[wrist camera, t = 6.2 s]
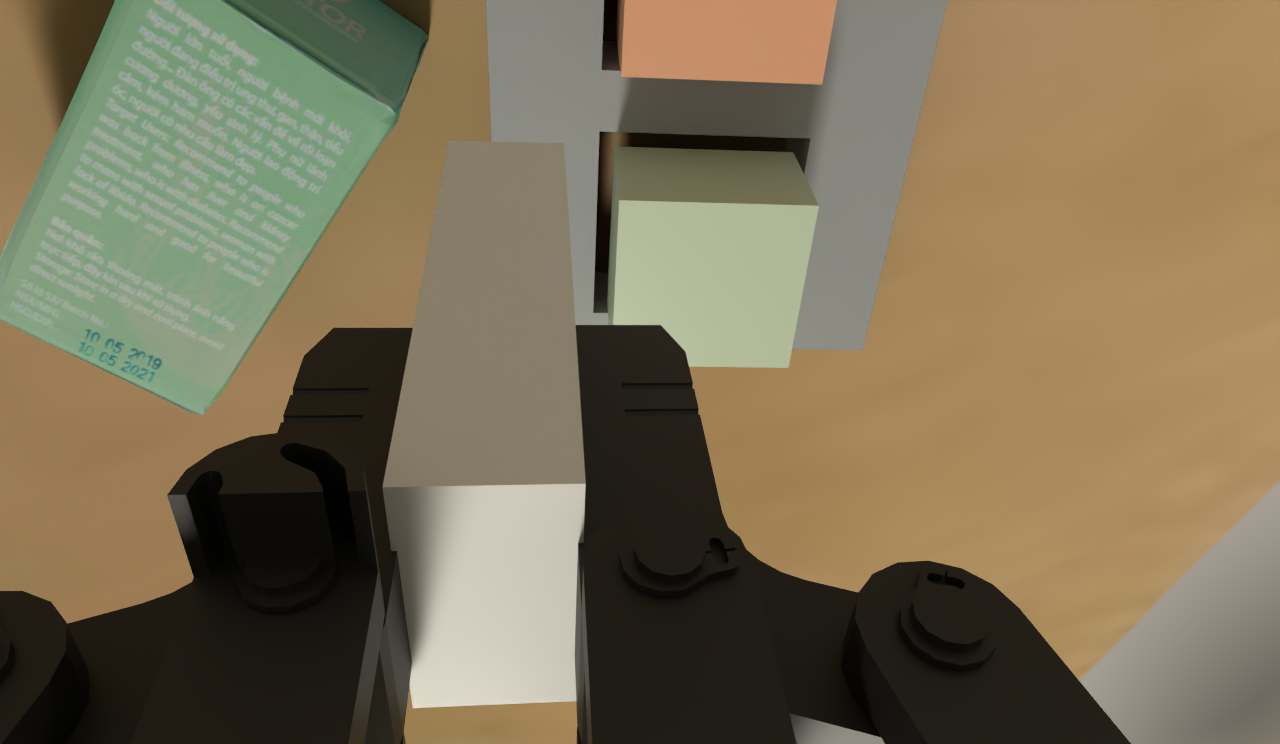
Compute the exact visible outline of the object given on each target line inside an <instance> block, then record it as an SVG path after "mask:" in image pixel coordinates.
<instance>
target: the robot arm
mask: <svg viewBox="0 0 1280 744" xmlns="http://www.w3.org/2000/svg"><path fill="white" fill-rule="evenodd" d="M692 384H693V382H692V378H691V374H690V369H689V365H688V360H687V356H686V352H685V351H684V350H683V348H682V347H681V346H680V345H679V344H678V343H677V342H676V341H675V340H674V339H673V338H672V337H671V335H670V334H669V333H668V332H667V331H666V330H665V329H664V328H663V327H662V326H661V325H575V309H574V294H573V278H572V262H571V247H570V231H569V215H568V200H567V184H566V168H565V153H564V143H533V142H488V141H449V142H448V147H447V152H446V157H445V163H444V168H443V173H442V178H441V184H440V189H439V194H438V199H437V205H436V210H435V215H434V220H433V225H432V231H431V236H430V241H429V246H428V252H427V257H426V262H425V267H424V273H423V278H422V283H421V288H420V293H419V299H418V304H417V309H416V314H415V320H414V325H413V328H333V329H332V330H331V331H330V332H329V333H328V334H327V335H326V336H325V337H324V338H323V339H322V340H320V341H319V342H318V343H317V344H316V345H315V346H314V347H313V348H312V349H311V350H310V351H309V352H308V353H307V354H306V355H305V356H304V358H303V361H302V363H301V366H300V369H299V372H298V375H297V378H296V381H295V384H294V387H293V395H290V398H289V401H288V404H287V407H286V410H285V413H284V415H283V416H284V422H283V423H281V424H280V427H279V430H278V433H275V434H267V435H260V436H252V437H249V438H246V439H243V440H241V441H238V442H235V443H232V444H230V445H227V446H224V447H222V448H219V449H216V450H214V451H213V452H212V453H210V454H209V455H207V456H206V457H204V458H203V459H201V460H200V461H198V462H197V463H196V464H194V465H193V466H191V467H190V468H188V469H187V470H186V471H185V472H184V473H183V475H182V476H181V477H180V479H179V480H178V481H177V483H176V484H175V485H174V487H173V488H172V489H171V491H170V492H169V493H168V495H167V496H168V499H169V502H170V505H171V508H172V511H173V514H174V517H175V520H176V523H177V526H178V529H179V533H180V536H181V539H182V542H183V545H184V548H185V551H186V554H187V557H188V560H189V563H190V566H191V570H192V573H193V576H194V578H193V581H192V582H191V583H190V584H188V585H186V586H184V587H182V588H180V589H178V590H176V591H175V592H173V593H170V594H168V595H165V596H162V597H159V598H156V599H154V600H151V601H148V602H145V603H142V604H139V605H135V606H131V607H127V608H124V609H120V610H116V611H113V612H109V613H105V614H102V615H98V616H94V617H91V618H87V619H83V620H79V621H76V622H72V623H68V624H67V623H66V621H65V620H64V619H63V617H62V616H61V615H60V613H59V612H58V611H57V609H56V608H55V607H54V605H53V604H52V603H51V602H50V601H47V600H45V599H42V598H39V597H37V596H34V595H31V594H29V593H26V592H24V591H0V744H406V743H405V736H404V723H405V715H406V707H407V700H408V692H409V684H410V691H411V698H412V705H413V708H425V707H448V706H471V705H495V704H518V703H541V702H565V701H576V702H577V744H1131V743H1130V742H1129V741H1128V740H1127V738H1126V737H1125V736H1124V735H1123V734H1122V732H1121V731H1120V730H1119V729H1118V728H1117V726H1116V725H1115V724H1114V723H1113V722H1112V720H1111V719H1110V718H1109V717H1108V715H1107V714H1106V713H1105V712H1104V711H1103V709H1102V708H1101V707H1100V706H1099V705H1098V703H1097V702H1096V701H1095V700H1094V699H1093V697H1091V695H1090V694H1089V692H1088V691H1087V690H1086V689H1085V688H1084V686H1083V685H1082V684H1081V683H1080V681H1079V680H1078V679H1077V678H1076V677H1075V675H1074V674H1073V673H1072V672H1071V671H1070V669H1069V668H1068V667H1067V666H1066V665H1065V663H1064V662H1063V661H1062V660H1061V658H1060V657H1059V656H1058V655H1057V654H1056V652H1055V651H1054V650H1053V649H1052V648H1051V646H1050V645H1049V644H1048V643H1047V641H1046V640H1045V639H1044V638H1043V637H1042V635H1041V634H1040V633H1039V632H1038V631H1037V629H1036V628H1035V627H1034V626H1033V624H1032V623H1031V622H1030V621H1029V620H1028V618H1027V617H1026V616H1025V615H1024V614H1023V612H1022V611H1021V610H1020V609H1019V608H1018V607H1017V606H1016V605H1015V604H1014V603H1013V602H1012V601H1011V600H1009V599H1008V598H1007V597H1006V596H1005V595H1004V594H1003V593H1002V592H1001V591H1000V590H998V589H997V588H996V587H995V586H994V585H993V584H991V583H989V582H987V581H985V580H983V579H981V578H979V577H977V576H975V575H973V574H971V573H969V572H967V571H966V570H964V569H962V568H957V567H953V566H949V565H944V564H940V563H936V562H931V561H917V562H900V563H896V564H894V565H891V566H889V567H887V568H885V569H883V570H880V571H878V572H876V573H874V574H872V576H871V577H870V578H869V580H868V581H867V582H866V584H865V585H864V586H863V588H862V589H861V590H860V592H859V593H857V592H853V591H849V590H845V589H840V588H836V587H832V586H828V585H824V584H819V583H815V582H811V581H807V580H803V579H800V578H797V577H794V576H791V575H788V574H785V573H782V572H780V571H778V570H776V569H774V568H772V567H771V566H769V565H767V564H765V563H763V562H761V561H760V560H758V559H757V558H756V557H755V556H753V555H752V554H751V553H750V552H749V551H747V550H746V548H745V546H744V544H743V542H742V540H741V538H740V537H739V536H738V535H737V534H735V533H734V532H733V531H732V530H731V529H730V528H728V526H727V523H726V521H725V518H724V516H723V513H722V510H721V506H720V501H719V497H718V492H717V488H716V484H715V479H714V475H713V470H712V466H711V462H710V457H709V453H708V448H707V444H706V440H705V435H704V431H703V426H702V422H701V418H700V415H698V404H697V400H696V396H695V391H694V389H693V388H692Z"/></svg>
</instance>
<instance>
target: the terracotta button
mask: <svg viewBox="0 0 1280 744" xmlns="http://www.w3.org/2000/svg"><path fill="white" fill-rule="evenodd" d="M836 4H837V0H617V21H616V41H617V49H618V56H619V64H620V72H621V77H638V78H664V79H690V80H716V81H742V82H768V83H794V84H820V85H822V83H823V78H824V72H825V66H826V60H827V55H828V49H829V43H830V38H831V32H832V26H833V21H834V15H835V9H836Z"/></svg>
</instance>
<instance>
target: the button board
mask: <svg viewBox="0 0 1280 744" xmlns="http://www.w3.org/2000/svg"><path fill="white" fill-rule="evenodd" d="M946 4H947V0H837V4H836V9H835V15H834V21H833V26H832V32H831V38H830V43H829V49H828V55H827V60H826V66H825V72H824V78H823V83H822V85H820V84H794V83H768V82H742V81H716V80H690V79H664V78H638V77H621V72H620V64H619V56H618V49H617V42H612V41H603V16H604V0H486V8H487V35H488V62H489V89H490V116H491V142H533V143H564V153H565V168H566V184H567V200H568V215H569V231H570V247H571V262H572V278H573V294H574V309H575V325H609V323H608V306H607V296H608V274H609V272H595V247H596V218H597V189H598V160H599V132H600V131H601V132H631V133H661V134H691V135H720V136H750V137H780V138H788V141H787V148H786V152H793V153H794V155H795V157H796V159H797V161H798V163H799V165H800V167H801V169H802V171H803V173H804V176H805V178H806V180H807V182H808V184H809V186H810V188H811V190H812V192H813V194H814V196H815V198H816V201H817V203H818V205H819V208H818V214H817V219H816V224H815V230H814V235H813V240H812V246H811V251H810V256H809V261H808V267H807V272H806V277H805V283H804V288H803V293H802V299H801V304H800V309H799V314H798V320H797V325H796V330H795V336H794V341H793V346H792V349H812V350H863V346H864V342H865V338H866V334H867V330H868V325H869V321H870V317H871V313H872V309H873V305H874V301H875V297H876V292H877V288H878V284H879V280H880V276H881V272H882V268H883V264H884V260H885V255H886V251H887V247H888V243H889V239H890V235H891V231H892V227H893V223H894V218H895V214H896V210H897V206H898V202H899V198H900V194H901V190H902V186H903V181H904V177H905V173H906V169H907V165H908V161H909V157H910V153H911V148H912V144H913V140H914V136H915V132H916V128H917V124H918V120H919V116H920V111H921V107H922V103H923V99H924V95H925V91H926V87H927V83H928V79H929V74H930V70H931V66H932V62H933V58H934V54H935V50H936V46H937V41H938V37H939V33H940V29H941V25H942V21H943V17H944V13H945V9H946Z"/></svg>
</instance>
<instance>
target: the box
mask: <svg viewBox="0 0 1280 744" xmlns="http://www.w3.org/2000/svg"><path fill="white" fill-rule="evenodd" d="M428 40H429V36H428V35H427V34H426V33H425V32H424V31H423V30H422V29H421V28H419V27H418V26H416V25H415V24H413V23H411V22H410V21H408V20H407V19H405V18H404V17H403V16H401V15H400V14H398V13H397V12H395V11H394V10H393V9H391V8H390V7H388V6H387V5H385V4H384V3H383V2H381V1H380V0H115V2H114V4H113V6H112V9H111V11H110V13H109V16H108V18H107V21H106V23H105V25H104V28H103V30H102V32H101V34H100V37H99V39H98V41H97V43H96V46H95V48H94V50H93V52H92V55H91V57H90V59H89V62H88V64H87V66H86V68H85V71H84V73H83V75H82V77H81V80H80V82H79V84H78V86H77V89H76V91H75V93H74V96H73V98H72V100H71V102H70V105H69V107H68V109H67V112H66V114H65V116H64V118H63V121H62V123H61V125H60V127H59V129H58V132H57V134H56V136H55V138H54V140H53V143H52V145H51V147H50V149H49V151H48V154H47V156H46V158H45V160H44V162H43V165H42V167H41V169H40V171H39V173H38V176H37V178H36V180H35V182H34V184H33V186H32V189H31V191H30V193H29V195H28V197H27V199H26V202H25V204H24V206H23V208H22V210H21V212H20V214H19V216H18V219H17V221H16V223H15V225H14V227H13V229H12V231H11V234H10V236H9V238H8V240H7V242H6V245H5V247H4V249H3V251H2V254H1V256H0V320H1V321H3V322H5V323H7V324H9V325H11V326H13V327H15V328H18V329H20V330H22V331H24V332H26V333H28V334H30V335H32V336H34V337H36V338H38V339H40V340H43V341H45V342H47V343H49V344H51V345H53V346H55V347H57V348H59V349H61V350H63V351H65V352H67V353H70V354H72V355H74V356H76V357H78V358H80V359H82V360H84V361H86V362H88V363H90V364H92V365H94V366H97V367H99V368H101V369H103V370H105V371H107V372H109V373H111V374H113V375H115V376H117V377H119V378H121V379H124V380H126V381H128V382H130V383H132V384H134V385H136V386H138V387H140V388H142V389H144V390H146V391H149V392H151V393H153V394H155V395H157V396H159V397H161V398H163V399H165V400H167V401H169V402H171V403H173V404H175V405H177V406H179V407H181V408H183V409H185V410H187V411H189V412H192V413H196V414H199V415H203V414H204V413H205V412H206V410H207V409H208V408H209V407H210V405H211V404H212V403H213V402H214V400H215V399H216V398H217V397H218V396H219V394H220V393H221V392H222V391H223V389H224V388H225V387H226V385H227V384H228V382H229V380H230V379H231V377H232V376H233V374H234V373H235V371H236V370H237V368H238V366H239V365H240V363H241V362H242V360H243V359H244V357H245V356H246V354H247V352H248V351H249V349H250V348H251V346H252V345H253V343H254V342H255V340H256V338H257V337H258V335H259V334H260V332H261V331H262V329H263V327H264V326H265V324H266V323H267V321H268V320H269V318H270V317H271V315H272V313H273V312H274V310H275V309H276V307H277V306H278V304H279V302H280V301H281V299H282V298H283V296H284V295H285V293H286V291H287V290H288V288H289V287H290V285H291V284H292V282H293V280H294V279H295V277H296V276H297V274H298V273H299V271H300V269H301V268H302V266H303V265H304V263H305V262H306V260H307V258H308V257H309V255H310V254H311V252H312V251H313V249H314V247H315V246H316V244H317V243H318V241H319V240H320V238H321V237H322V235H323V233H324V232H325V230H326V229H327V227H328V226H329V224H330V222H331V221H332V219H333V218H334V216H335V215H336V213H337V211H338V210H339V208H340V207H341V205H342V204H343V202H344V200H345V199H346V197H347V196H348V194H349V193H350V191H351V189H352V188H353V186H354V185H355V183H356V182H357V180H358V178H359V177H360V175H361V174H362V172H363V171H364V169H365V167H366V166H367V164H368V163H369V161H370V160H371V158H372V156H373V155H374V153H375V152H376V150H377V149H378V147H379V145H380V144H381V142H382V141H383V140H384V138H385V137H386V136H387V135H388V133H389V132H390V131H391V130H392V128H393V127H394V126H395V124H396V122H397V121H398V118H399V114H400V111H401V107H402V104H403V102H404V100H405V97H406V95H407V92H408V90H409V87H410V84H411V82H412V79H413V76H414V74H415V72H416V70H417V68H418V66H419V64H420V61H421V58H422V55H423V52H424V49H425V47H426V45H427V42H428Z"/></svg>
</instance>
